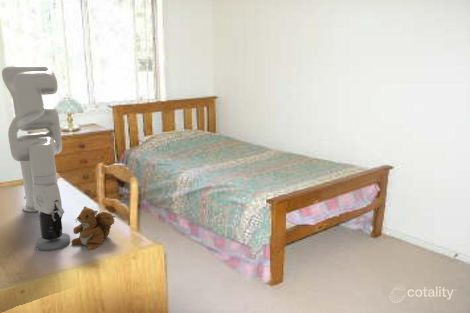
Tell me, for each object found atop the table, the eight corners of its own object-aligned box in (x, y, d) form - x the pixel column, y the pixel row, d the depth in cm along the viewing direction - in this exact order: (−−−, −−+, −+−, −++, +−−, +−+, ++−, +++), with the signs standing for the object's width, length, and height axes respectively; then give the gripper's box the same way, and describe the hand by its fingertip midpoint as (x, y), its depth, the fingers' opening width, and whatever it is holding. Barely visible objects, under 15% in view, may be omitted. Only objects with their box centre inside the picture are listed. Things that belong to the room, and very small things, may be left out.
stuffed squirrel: (68, 245, 148) (64, 209, 144) (103, 230, 158) (100, 197, 155) (86, 253, 142) (81, 216, 138) (120, 237, 152) (117, 203, 149)
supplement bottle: (55, 241, 144) (51, 208, 141) (37, 239, 145) (32, 206, 142) (67, 232, 151) (63, 200, 147) (49, 231, 152) (45, 199, 149)
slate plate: (29, 245, 147) (29, 241, 147) (58, 234, 156) (58, 230, 156) (48, 254, 141) (47, 249, 141) (76, 241, 150) (76, 237, 149)
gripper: (20, 177, 144) (27, 225, 149) (49, 186, 135) (56, 238, 139) (40, 171, 150) (47, 218, 155) (70, 180, 141) (76, 230, 145)
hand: (51, 227), depth 147 cm, fingers closed on supplement bottle, 6 cm apart
